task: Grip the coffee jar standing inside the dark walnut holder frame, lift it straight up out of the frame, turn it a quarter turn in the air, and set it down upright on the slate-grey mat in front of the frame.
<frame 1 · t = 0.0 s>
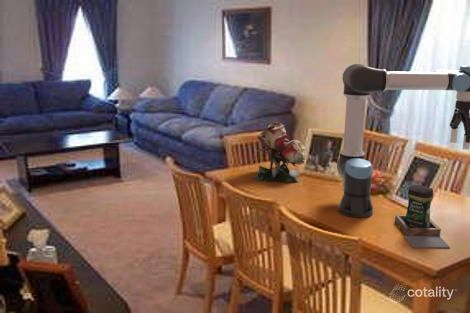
hand: (459, 145, 233), 28 cm above the table, tool pointing down, fingers open, 13 cm apart
holder frame: (416, 228, 209), on the table
coffee jar: (416, 229, 209), resting in holder frame
slate mat: (426, 242, 195), on the table
rose bouquet: (279, 175, 281), on the table
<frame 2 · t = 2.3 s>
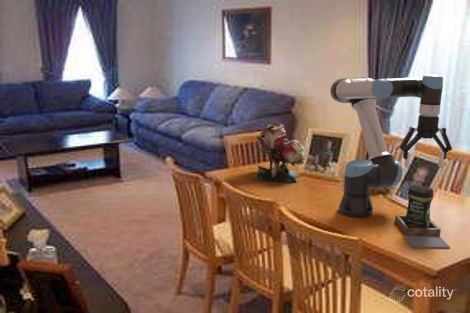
hand: (423, 167, 202), 27 cm above the table, tool pointing down, fingers open, 13 cm apart
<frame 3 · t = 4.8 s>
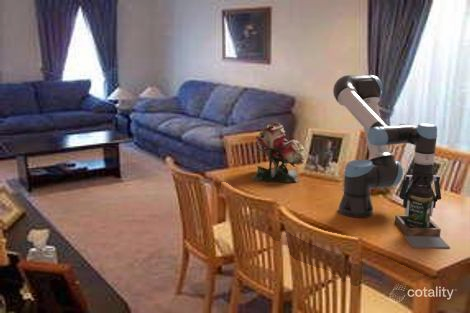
hand: (418, 215, 207), 6 cm above the table, tool pointing down, fingers closed on coffee jar, 9 cm apart
coffee jar: (416, 229, 209), resting in holder frame, touching gripper
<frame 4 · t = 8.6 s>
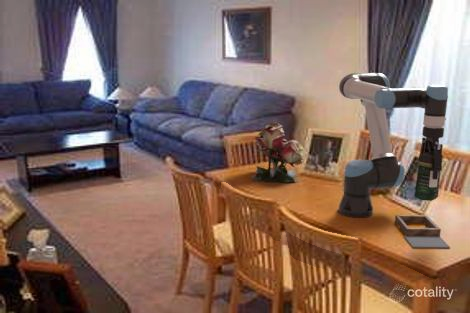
hand: (427, 183, 196), 22 cm above the table, tool pointing down, fingers closed on coffee jar, 9 cm apart
coffee jar: (426, 198, 197), point 16 cm above the table, touching gripper
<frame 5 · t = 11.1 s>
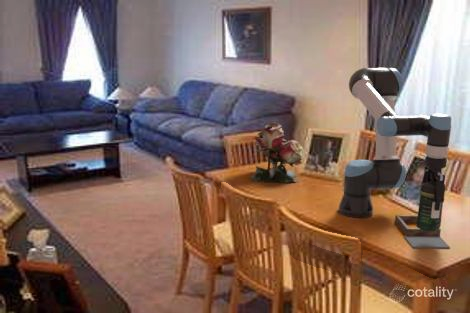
hand: (430, 213, 192), 12 cm above the table, tool pointing down, fingers closed on coffee jar, 9 cm apart
coffee jar: (428, 228, 193), point 6 cm above the table, touching gripper
when the fingers open (8 cm above the table, at t = 12.9 s): coffee jar drops 1 cm, resting on slate mat.
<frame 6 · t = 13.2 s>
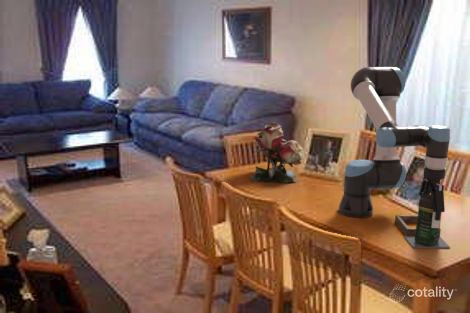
hand: (428, 221, 193), 9 cm above the table, tool pointing down, fingers open, 12 cm apart
coffee jar: (426, 242, 194), resting on slate mat
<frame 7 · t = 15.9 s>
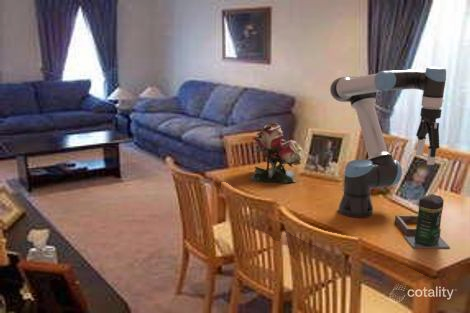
hand: (424, 159, 202), 29 cm above the table, tool pointing down, fingers open, 13 cm apart
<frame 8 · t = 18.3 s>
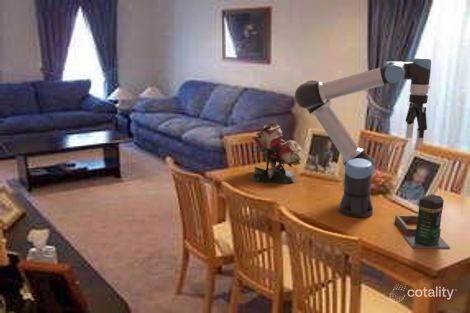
hand: (414, 141, 224), 32 cm above the table, tool pointing down, fingers open, 13 cm apart
at the end: coffee jar inside the target area on the slate mat (0.5 cm from its centre), point 0.4 cm above the slate mat's base; coffee jar tilted 0°; the gripper is holding nothing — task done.
